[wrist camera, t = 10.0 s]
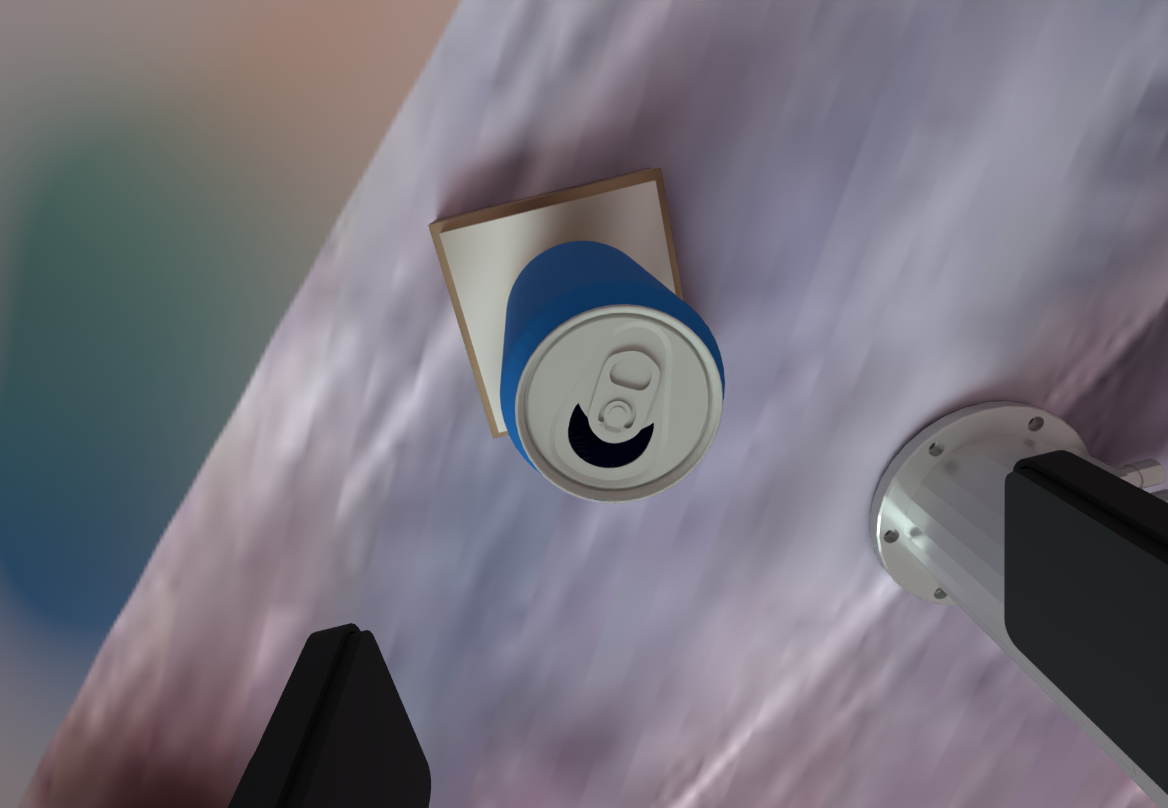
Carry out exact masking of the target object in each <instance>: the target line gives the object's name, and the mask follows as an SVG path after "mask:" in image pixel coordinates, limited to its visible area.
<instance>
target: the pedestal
mask: <svg viewBox="0 0 1168 808" xmlns="http://www.w3.org/2000/svg"><path fill="white" fill-rule="evenodd" d="M428 226H429V229H430V232H431V235H432V239H433V242H434V245H435V249H436V252H437V255H438V258H439V262H440V265H441V268H442V272H443V275H444V278H445V281H446V285H447V288H448V291H449V295H450V298H451V301H452V304H453V308H454V311H455V314H456V318H457V321H458V324H459V327H460V331H461V334H462V337H463V341H464V344H465V347H466V351H467V354H468V357H469V360H470V364H471V367H472V370H473V374H474V377H475V380H476V383H477V387H478V390H479V393H480V397H481V400H482V403H483V406H484V410H485V413H486V416H487V420H488V423H489V426H490V429H491V433H492V436H493V438H497V437H501V436H505V435H509V434H508V431H507V428H506V426H505V423H504V420H503V415H502V411H501V404H500V381H501V368H502V356H503V344H504V332H505V320H506V308H507V303H508V298H509V295H510V292H511V289H512V287H513V285H514V283H515V281H516V279H517V277H518V276H519V274H520V273H521V271H522V270H523V269H524V268H525V267H526V266H527V264H528V263H529V262H530V261H532V260H533V259H534V258H535V257H536V256H538V255H539V254H541V253H542V252H544V251H545V250H547V249H550V248H552V247H554V246H557V245H560V244H563V243H567V242H573V241H593V242H599V243H603V244H607V245H609V246H612V247H614V248H616V249H618V250H620V251H622V252H624V253H625V254H626V255H628V256H629V257H630V258H632V259H633V260H634V261H635V262H637V263H638V264H639V265H640V266H641V267H643V268H644V269H645V270H646V271H647V272H649V273H650V274H651V275H652V276H654V277H655V278H656V279H657V280H658V281H660V282H661V283H662V284H663V285H664V286H666V287H667V288H668V289H669V290H671V291H672V292H673V293H674V294H675V295H677V296H678V297H679V298H680V299H682V300H683V294H682V288H681V282H680V276H679V271H678V265H677V259H676V253H675V248H674V242H673V236H672V230H671V224H670V219H669V213H668V207H667V201H666V196H665V190H664V184H663V178H662V172H661V168H648V169H644V170H640V171H636V172H631V173H627V174H623V175H619V176H615V177H611V178H607V179H603V180H599V181H595V182H591V183H586V184H582V185H578V186H574V187H570V188H566V189H562V190H558V191H554V192H550V193H545V194H541V195H537V196H533V197H529V198H525V199H521V200H517V201H513V202H509V203H504V204H500V205H496V206H492V207H488V208H484V209H480V210H476V211H472V212H468V213H464V214H459V215H455V216H451V217H447V218H443V219H439V220H435V221H434V222H432V223H431V224H429V225H428ZM683 301H684V300H683Z"/></svg>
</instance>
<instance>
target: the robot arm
mask: <svg viewBox="0 0 1168 808" xmlns="http://www.w3.org/2000/svg"><path fill="white" fill-rule="evenodd" d="M1165 480H1166V471H1165V469H1164V468H1163V466H1162V465H1161V464H1160V463H1159V462H1157V461H1156V460H1152V459H1148V460H1144V461H1140V462H1136V463H1132V464H1128V465H1125V466H1123V467H1121V468H1117V469H1115V468H1113V467H1111V466H1109V465H1107V464H1105V463H1103V462H1101V461H1099V460H1097V459H1095V458H1093V457H1091V456H1090V455H1089V452H1088V449H1087V447H1086V445H1085V443H1084V442H1083V440H1082V439H1081V437H1080V436H1079V434H1078V433H1077V431H1076V430H1074V429H1073V428H1072V427H1071V426H1070V425H1069V424H1068V423H1066V422H1065V421H1064V420H1063V419H1061V418H1059V417H1057V416H1055V415H1053V414H1051V413H1049V412H1047V411H1045V410H1043V409H1040V408H1037V407H1035V406H1032V405H1029V404H1026V403H1018V402H1011V401H1000V402H986V403H982V404H978V405H974V406H970V407H966V408H963V409H960V410H958V411H956V412H953V413H951V414H949V415H947V416H944V417H942V418H941V419H939V420H938V421H936V422H934V423H933V424H931V425H930V426H928V427H926V428H925V429H923V430H922V431H921V432H920V433H919V434H918V435H917V436H915V437H914V438H913V439H912V440H911V441H910V442H908V443H907V444H906V445H905V446H904V448H903V449H902V450H901V451H900V452H899V454H898V455H897V456H896V457H895V458H894V459H893V461H892V462H891V464H890V465H889V467H888V469H887V470H886V472H885V474H884V475H883V477H882V479H881V480H880V483H879V485H878V488H877V491H876V493H875V496H874V498H873V503H872V508H871V514H870V537H871V541H872V545H873V549H874V552H875V554H876V556H877V558H878V560H879V562H880V564H881V566H882V567H883V568H884V569H885V570H886V572H887V573H888V574H889V575H890V576H891V577H892V579H893V580H894V581H895V582H896V583H897V584H899V585H900V586H901V587H902V588H903V589H904V590H906V591H907V592H909V593H911V594H912V595H914V596H916V597H918V598H920V599H922V600H926V601H929V602H932V603H936V604H945V605H958V606H959V607H960V608H961V609H962V610H963V611H964V612H965V613H966V614H967V615H968V616H969V617H970V618H971V619H972V620H973V621H974V622H975V623H976V624H977V625H978V626H979V627H980V628H981V629H982V630H983V631H984V632H985V633H986V634H987V635H988V636H989V637H990V638H991V639H992V640H993V641H994V642H995V643H996V644H997V645H998V646H999V647H1000V648H1001V649H1002V650H1003V651H1004V652H1005V653H1006V654H1007V655H1008V656H1009V657H1010V658H1011V659H1012V660H1013V661H1014V662H1015V663H1016V664H1017V665H1018V666H1019V667H1020V668H1021V669H1022V670H1023V671H1024V672H1025V673H1026V674H1027V675H1028V676H1029V677H1030V678H1031V679H1032V680H1033V681H1034V682H1035V683H1036V684H1037V685H1038V686H1039V687H1040V688H1041V689H1042V690H1043V691H1044V692H1045V693H1046V694H1047V695H1048V696H1049V697H1050V698H1051V699H1052V700H1053V701H1054V702H1055V703H1056V704H1057V705H1058V706H1059V707H1060V708H1061V709H1062V710H1063V711H1064V712H1065V713H1066V714H1067V715H1068V716H1069V717H1070V718H1071V719H1072V720H1073V721H1074V722H1075V723H1076V724H1077V725H1078V726H1079V727H1080V728H1081V729H1082V730H1083V731H1084V732H1085V733H1086V734H1087V735H1088V736H1089V737H1090V738H1091V739H1092V740H1093V741H1094V742H1095V743H1096V744H1097V745H1098V746H1099V747H1100V748H1101V749H1102V750H1103V751H1104V752H1105V753H1106V754H1107V755H1108V756H1109V757H1110V758H1111V759H1112V760H1113V761H1114V762H1115V763H1116V764H1117V765H1118V766H1119V767H1120V768H1121V769H1122V770H1123V771H1124V772H1125V773H1126V774H1127V775H1128V776H1129V777H1130V778H1131V779H1132V780H1133V781H1134V782H1135V783H1136V784H1137V785H1138V786H1139V787H1140V788H1141V789H1142V790H1143V791H1144V792H1145V793H1146V794H1147V795H1148V796H1149V797H1150V798H1151V799H1152V800H1153V801H1154V802H1155V803H1156V804H1157V805H1158V806H1159V807H1160V808H1168V490H1167V489H1164V490H1160V491H1156V492H1152V493H1148V492H1146V491H1144V490H1142V488H1146V487H1150V486H1154V485H1158V484H1161V483H1164V482H1165ZM430 794H431V776H430V770H429V766H428V763H427V760H426V758H425V755H424V753H423V751H422V748H421V746H420V744H419V741H418V739H417V737H416V734H415V732H414V729H413V727H412V725H411V722H410V720H409V718H408V715H407V713H406V711H405V708H404V706H403V704H402V701H401V699H400V696H399V694H398V692H397V689H396V687H395V685H394V682H393V680H392V678H391V675H390V673H389V671H388V668H387V666H386V663H385V661H384V659H383V656H382V654H381V652H380V649H379V647H378V645H377V642H376V640H375V638H374V636H373V634H372V633H371V632H370V631H369V630H365V631H360V629H359V628H358V627H357V626H356V625H355V624H352V623H350V624H346V625H342V626H338V627H334V628H330V629H326V630H321V631H317V632H314V633H312V634H311V635H310V636H309V638H308V639H307V641H306V643H305V646H304V648H303V650H302V652H301V654H300V656H299V659H298V661H297V663H296V665H295V667H294V669H293V671H292V674H291V676H290V678H289V680H288V682H287V684H286V687H285V689H284V691H283V693H282V695H281V697H280V700H279V702H278V704H277V706H276V708H275V710H274V713H273V715H272V717H271V719H270V721H269V723H268V725H267V728H266V730H265V732H264V734H263V736H262V738H261V741H260V743H259V745H258V747H257V749H256V751H255V753H254V755H253V757H252V758H251V760H250V761H249V763H248V766H247V768H246V770H245V772H244V774H243V776H242V778H241V781H240V783H239V785H238V787H237V789H236V791H235V794H234V796H233V798H232V800H231V802H230V804H229V806H228V808H428V807H429V801H430Z"/></svg>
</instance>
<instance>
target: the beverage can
mask: <svg viewBox="0 0 1168 808" xmlns="http://www.w3.org/2000/svg"><path fill="white" fill-rule="evenodd" d="M724 389H725V378H724V367H723V363H722V358H721V354H720V351H719V348H718V346H717V343H716V341H715V339H714V337H713V335H712V333H711V331H710V330H709V328H708V326H707V325H706V324H705V322H704V321H703V320H702V318H701V317H700V316H699V315H698V314H697V313H696V312H695V311H694V310H693V309H692V308H691V307H690V306H689V305H688V304H686V303H685V302H684V301H683V300H682V299H680V298H679V297H678V296H677V295H675V294H674V293H673V292H672V291H671V290H669V289H668V288H667V287H666V286H664V285H663V284H662V283H661V282H660V281H658V280H657V279H656V278H655V277H654V276H652V275H651V274H650V273H649V272H647V271H646V270H645V269H644V268H643V267H641V266H640V265H639V264H638V263H637V262H635V261H634V260H633V259H632V258H630V257H629V256H628V255H626V254H625V253H624V252H622V251H620V250H618V249H616V248H614V247H612V246H609V245H607V244H603V243H599V242H593V241H573V242H567V243H563V244H560V245H557V246H554V247H552V248H550V249H547V250H545V251H544V252H542V253H541V254H539V255H538V256H536V257H535V258H534V259H533V260H532V261H530V262H529V263H528V264H527V266H526V267H525V268H524V269H523V270H522V271H521V273H520V274H519V276H518V277H517V279H516V281H515V283H514V285H513V287H512V289H511V292H510V295H509V298H508V303H507V308H506V320H505V332H504V344H503V356H502V368H501V381H500V404H501V411H502V415H503V420H504V423H505V426H506V428H507V431H508V434H509V436H510V437H511V439H512V441H513V443H514V445H515V447H516V448H517V449H518V451H519V452H520V453H521V455H522V456H523V457H524V459H525V460H526V461H527V462H528V463H529V464H530V465H531V466H532V467H533V468H534V469H535V470H537V471H538V472H539V473H540V474H542V475H543V476H544V477H545V478H546V479H547V480H549V481H550V482H551V483H552V484H554V485H555V486H557V487H558V488H560V489H562V490H563V491H565V492H567V493H569V494H572V495H574V496H576V497H579V498H582V499H586V500H589V501H595V502H601V503H626V502H632V501H637V500H642V499H645V498H648V497H651V496H654V495H656V494H658V493H661V492H663V491H665V490H667V489H668V488H670V487H672V486H673V485H675V484H677V483H678V482H679V481H681V480H682V479H683V478H684V477H686V476H687V475H688V474H689V473H690V472H691V471H692V470H693V469H694V468H695V467H696V466H697V465H698V463H699V462H700V461H701V460H702V459H703V457H704V456H705V454H706V453H707V451H708V450H709V448H710V446H711V444H712V442H713V440H714V438H715V436H716V433H717V430H718V427H719V424H720V420H721V414H722V405H723V399H724Z"/></svg>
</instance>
